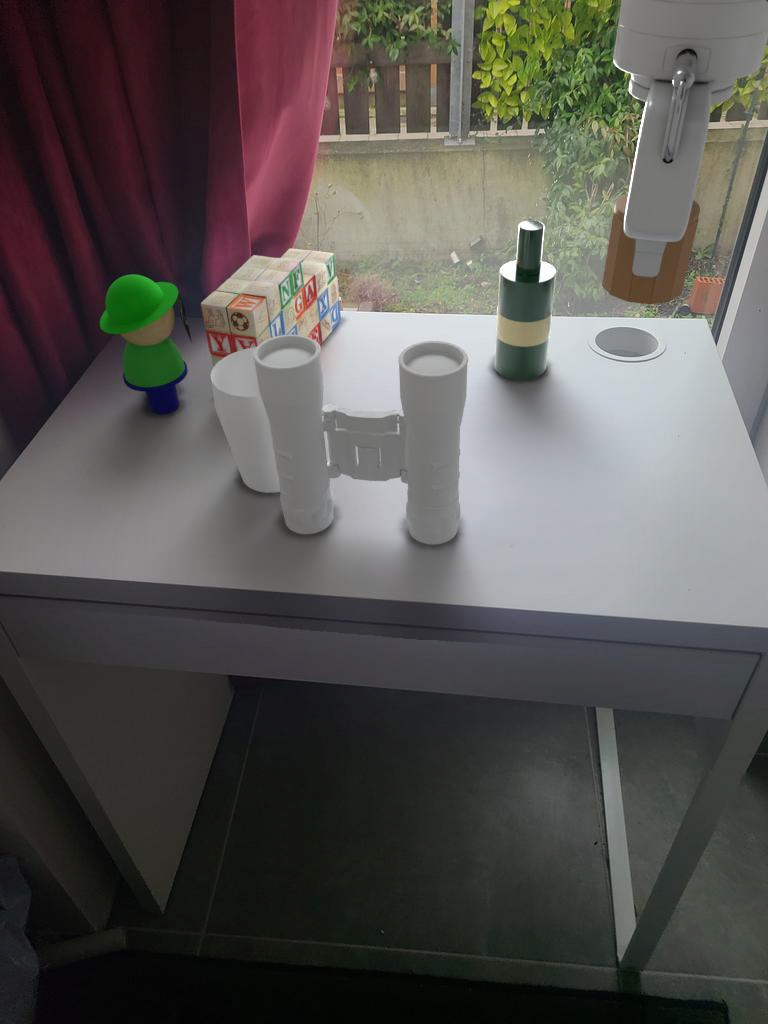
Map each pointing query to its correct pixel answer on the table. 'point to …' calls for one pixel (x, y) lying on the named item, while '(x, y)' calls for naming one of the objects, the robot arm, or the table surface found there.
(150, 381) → the toy
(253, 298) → the stack of blocks
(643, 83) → the robot arm
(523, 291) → the bottle
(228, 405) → the cup
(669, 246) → the brown cylinder
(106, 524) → the table surface
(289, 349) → the binoculars
